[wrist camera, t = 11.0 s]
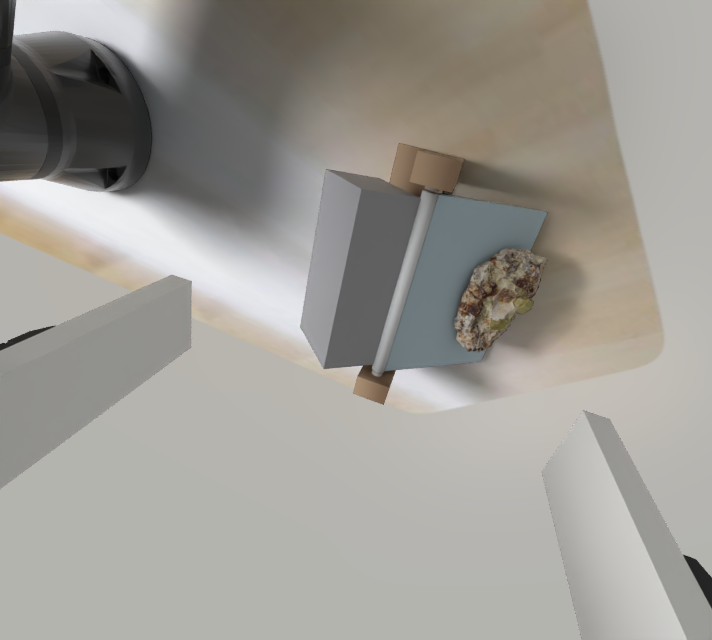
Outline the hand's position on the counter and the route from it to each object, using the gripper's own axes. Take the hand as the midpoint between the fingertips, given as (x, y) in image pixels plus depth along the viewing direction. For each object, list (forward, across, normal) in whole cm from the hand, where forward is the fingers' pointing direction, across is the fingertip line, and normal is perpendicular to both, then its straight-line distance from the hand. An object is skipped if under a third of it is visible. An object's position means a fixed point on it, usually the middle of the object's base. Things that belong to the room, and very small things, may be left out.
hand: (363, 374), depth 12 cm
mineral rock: (+24, +7, -4) cm, 26 cm away
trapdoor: (+26, -2, -4) cm, 27 cm away
